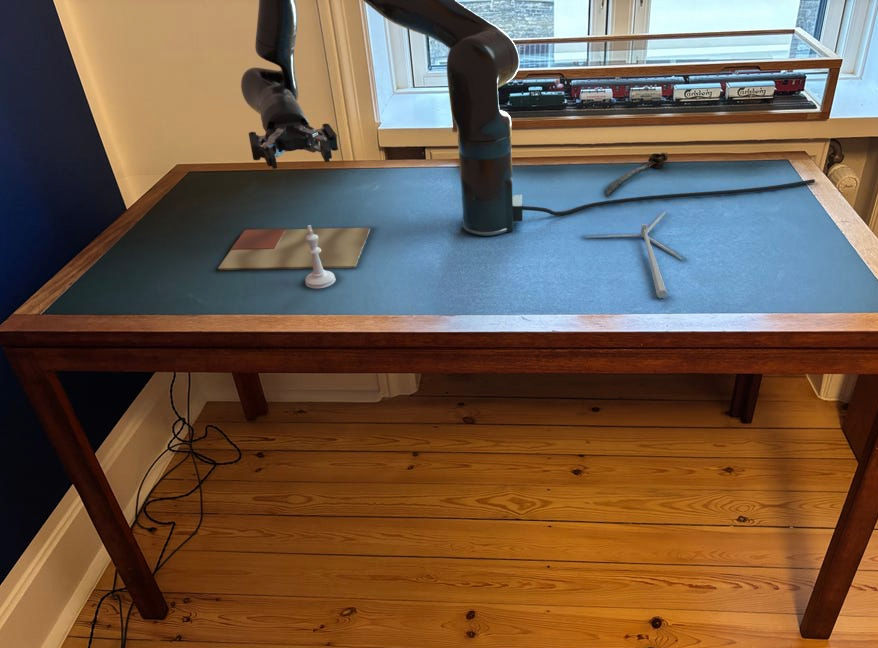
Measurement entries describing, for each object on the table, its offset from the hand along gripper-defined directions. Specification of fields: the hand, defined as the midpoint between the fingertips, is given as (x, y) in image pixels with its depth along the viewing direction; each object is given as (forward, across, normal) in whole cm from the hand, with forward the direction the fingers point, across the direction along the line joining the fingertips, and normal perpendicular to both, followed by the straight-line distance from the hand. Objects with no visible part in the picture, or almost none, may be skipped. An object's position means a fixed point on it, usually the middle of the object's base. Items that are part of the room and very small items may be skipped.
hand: (301, 159), depth 118 cm
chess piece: (+12, -1, +16) cm, 20 cm away
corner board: (-2, -2, +18) cm, 18 cm away
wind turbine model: (+25, +50, +12) cm, 57 cm away
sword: (-4, +68, +15) cm, 70 cm away
